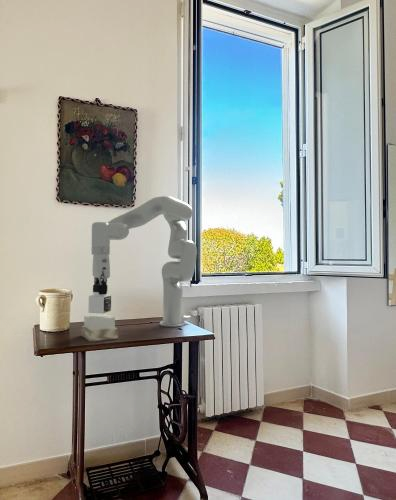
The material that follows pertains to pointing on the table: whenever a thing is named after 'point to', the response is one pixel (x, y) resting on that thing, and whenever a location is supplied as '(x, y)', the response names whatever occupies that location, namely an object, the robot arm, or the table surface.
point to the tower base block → (99, 334)
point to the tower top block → (99, 322)
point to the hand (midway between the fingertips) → (100, 293)
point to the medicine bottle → (99, 301)
